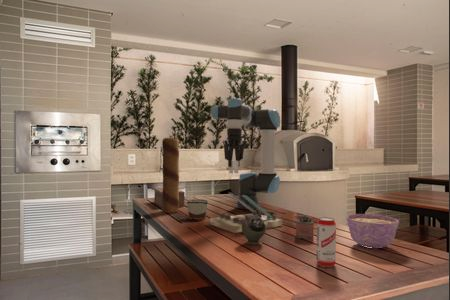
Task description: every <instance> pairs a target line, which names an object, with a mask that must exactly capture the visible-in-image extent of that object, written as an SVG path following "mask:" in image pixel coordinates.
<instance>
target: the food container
mask: <svg viewBox="0 0 450 300" xmlns="http://www.w3.org/2000/svg"><path fill="white" fill-rule="evenodd" d="M186 205H187V213H188V219H192V218H193V219H197V220H198V219H199V220H206V218H207V210H208V209H207V208H208V205H209V202H208V200H207V199H203V198H201V199H200V198H199V199H198V198H196V199H193V198H192V199H187V201H186Z"/></svg>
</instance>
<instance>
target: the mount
mask: <svg viewBox="0 0 450 300" xmlns="http://www.w3.org/2000/svg"><path fill="white" fill-rule="evenodd" d="M254 210H255V211H256V212H257V213H258V214H260V215H261V219H262V220H263V221H264V223H265V226H266V229H272V228H279V227H283V219H279V218H277V215H276V214H272V217H273V219H271V218H269V217H267V216H266V215H265V214H264V215H263V214H262V212H261V211H260V210H258V211H257V209H254ZM268 213H269V212H268ZM269 214H270V215H271V213H269ZM245 215H246V216H258V215H256V214H254V213H253V212H251V213H246V214H237V215H231V214H226V213H220V214H219V217H210V219H209V225H211V226H215V227H217V228H219V229H222V230H225V231H228V232H231V233H233V234H236V233H237V234H238V233H243V232H242V222H243V220H244V219H245ZM278 226H279V227H278Z"/></svg>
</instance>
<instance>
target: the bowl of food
mask: <svg viewBox="0 0 450 300" xmlns="http://www.w3.org/2000/svg"><path fill="white" fill-rule="evenodd" d="M346 221H347V226H348V231H349V235H350V237H351V239H352V241H354V242H355V243H357V244H358V245H360V246H361V245H363V246H367V247H372V248H380V247H382V248H386V247H388V246H390V245H391V244H392V243H393V241H394V239H395V237H396V233H397V230H398V226H399V223H400V221H399V220H398V219H397V218H394V217H391V216H386V215H380V214H369V213H362V214H361V213H356V214H355V213H354V214H349V215H347V216H346Z"/></svg>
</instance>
